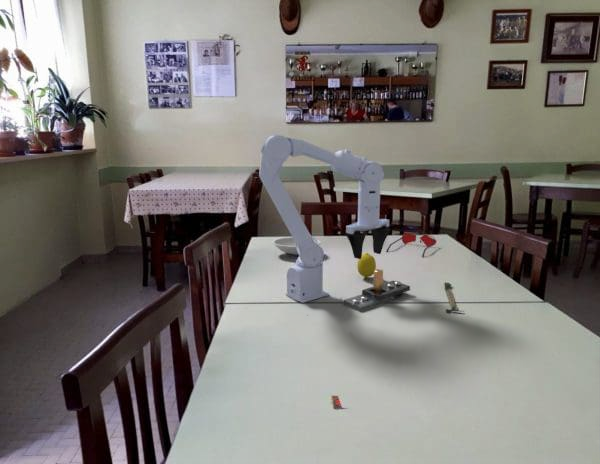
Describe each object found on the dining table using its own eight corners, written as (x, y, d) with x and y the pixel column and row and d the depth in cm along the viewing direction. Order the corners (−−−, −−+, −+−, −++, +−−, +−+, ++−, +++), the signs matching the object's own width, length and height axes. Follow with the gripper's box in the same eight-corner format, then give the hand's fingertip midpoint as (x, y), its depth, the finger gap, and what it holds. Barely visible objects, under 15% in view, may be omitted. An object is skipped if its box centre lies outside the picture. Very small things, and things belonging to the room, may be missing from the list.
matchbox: (362, 407, 74) (363, 405, 74) (333, 413, 73) (333, 411, 73) (351, 392, 79) (351, 390, 79) (323, 397, 77) (323, 395, 77)
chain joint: (359, 311, 112) (360, 300, 112) (343, 304, 117) (343, 293, 116) (409, 294, 123) (410, 284, 123) (392, 288, 128) (393, 278, 127)
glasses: (436, 248, 172) (437, 235, 171) (423, 258, 158) (423, 244, 157) (401, 243, 179) (402, 231, 178) (385, 253, 166) (386, 239, 165)
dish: (267, 259, 157) (267, 245, 156) (277, 249, 171) (276, 236, 170) (318, 261, 154) (318, 247, 153) (323, 250, 168) (323, 237, 167)
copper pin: (377, 301, 118) (378, 272, 117) (371, 299, 120) (371, 270, 119) (384, 299, 120) (385, 271, 118) (377, 297, 122) (378, 268, 120)
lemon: (370, 282, 133) (370, 256, 131) (353, 279, 136) (354, 253, 135) (378, 277, 137) (379, 252, 136) (362, 274, 141) (363, 249, 139)
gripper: (359, 211, 113) (358, 263, 116) (398, 205, 122) (396, 254, 125) (340, 208, 119) (340, 257, 122) (379, 202, 127) (377, 248, 130)
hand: (367, 255), depth 124 cm, fingers open, 7 cm apart
